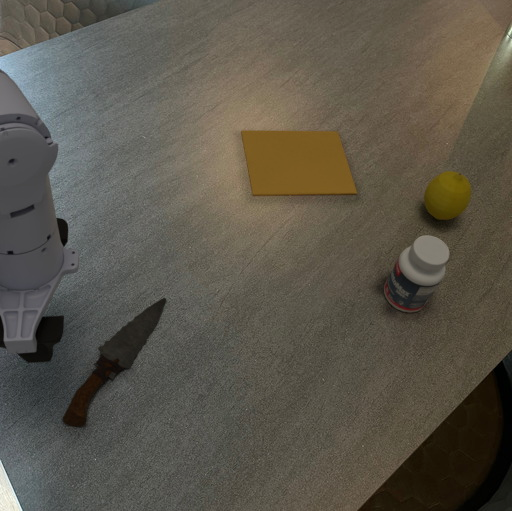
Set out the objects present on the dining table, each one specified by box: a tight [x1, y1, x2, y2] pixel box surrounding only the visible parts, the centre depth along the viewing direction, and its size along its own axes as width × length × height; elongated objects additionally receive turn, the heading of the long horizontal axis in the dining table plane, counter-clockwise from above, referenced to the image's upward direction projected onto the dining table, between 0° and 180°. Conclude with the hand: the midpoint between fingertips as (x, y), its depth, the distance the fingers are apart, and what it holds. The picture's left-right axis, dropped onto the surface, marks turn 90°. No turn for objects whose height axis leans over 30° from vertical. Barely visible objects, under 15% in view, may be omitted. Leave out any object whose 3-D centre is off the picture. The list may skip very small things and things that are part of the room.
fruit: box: [423, 170, 472, 221], centre depth 79 cm, size 6×6×8 cm
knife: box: [62, 297, 167, 428], centre depth 63 cm, size 17×2×5 cm
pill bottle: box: [383, 234, 451, 313], centre depth 70 cm, size 5×5×9 cm
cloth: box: [240, 130, 358, 197], centre depth 85 cm, size 14×12×1 cm
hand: (41, 320), depth 57 cm, fingers open, 7 cm apart
